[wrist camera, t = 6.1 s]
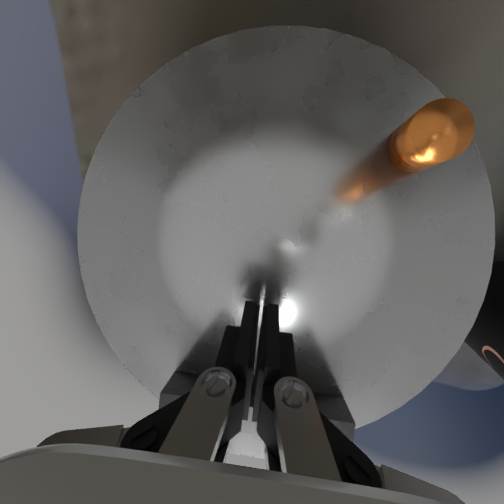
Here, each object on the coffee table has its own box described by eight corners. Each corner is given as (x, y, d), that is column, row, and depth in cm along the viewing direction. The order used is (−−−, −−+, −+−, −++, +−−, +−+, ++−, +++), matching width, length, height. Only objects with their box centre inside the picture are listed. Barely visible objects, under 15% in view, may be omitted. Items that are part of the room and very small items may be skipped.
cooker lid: (104, 33, 13) (55, -28, 10) (510, 59, 12) (593, -1, 9) (84, 394, 15) (37, 435, 12) (435, 450, 13) (482, 512, 10)
